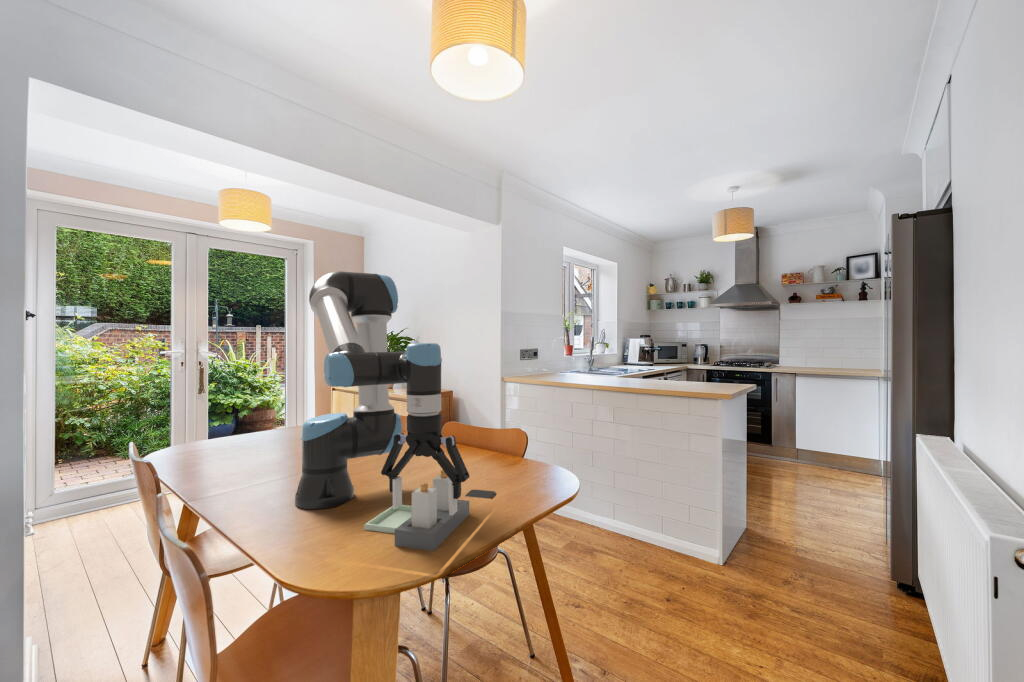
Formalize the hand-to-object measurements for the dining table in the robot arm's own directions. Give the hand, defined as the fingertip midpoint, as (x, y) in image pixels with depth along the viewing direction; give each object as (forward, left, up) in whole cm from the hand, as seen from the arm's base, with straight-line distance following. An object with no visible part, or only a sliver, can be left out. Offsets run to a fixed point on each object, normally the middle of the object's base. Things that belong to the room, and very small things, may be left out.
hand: (424, 510), depth 96 cm
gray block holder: (0, +5, -7) cm, 8 cm away
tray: (-11, +7, -7) cm, 15 cm away
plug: (0, 0, -6) cm, 6 cm away
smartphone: (+2, +25, -7) cm, 26 cm away
